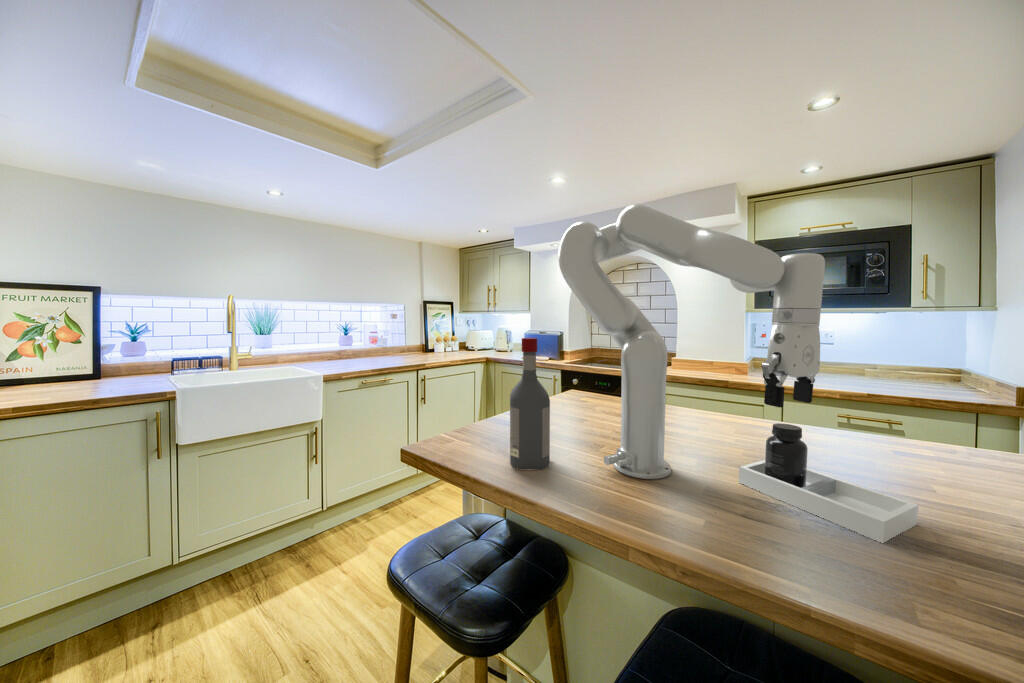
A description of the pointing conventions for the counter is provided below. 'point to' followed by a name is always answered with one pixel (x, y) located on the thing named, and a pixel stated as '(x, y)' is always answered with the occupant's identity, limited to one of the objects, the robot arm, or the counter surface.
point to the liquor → (529, 415)
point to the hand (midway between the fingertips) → (788, 403)
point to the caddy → (838, 502)
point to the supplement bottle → (786, 455)
